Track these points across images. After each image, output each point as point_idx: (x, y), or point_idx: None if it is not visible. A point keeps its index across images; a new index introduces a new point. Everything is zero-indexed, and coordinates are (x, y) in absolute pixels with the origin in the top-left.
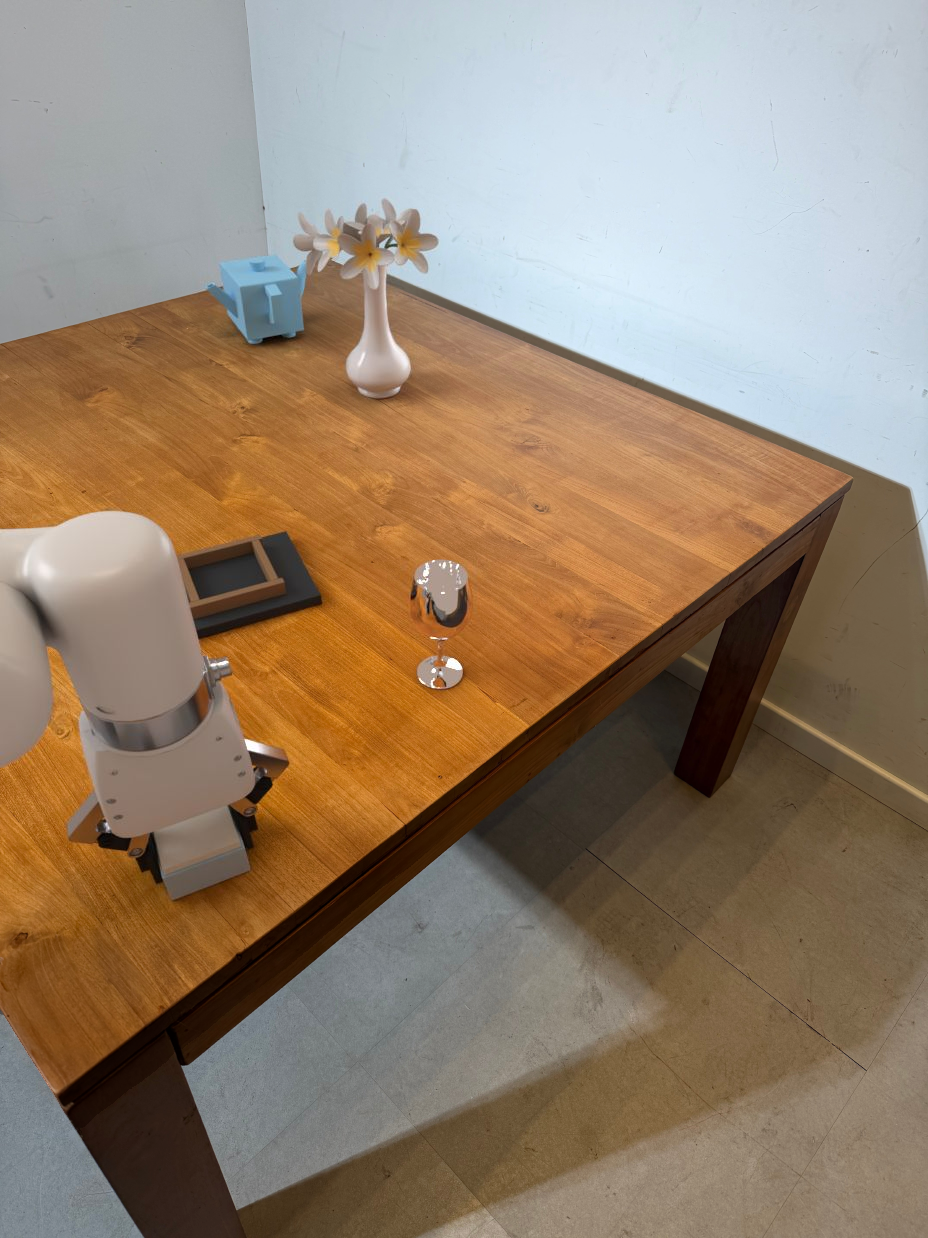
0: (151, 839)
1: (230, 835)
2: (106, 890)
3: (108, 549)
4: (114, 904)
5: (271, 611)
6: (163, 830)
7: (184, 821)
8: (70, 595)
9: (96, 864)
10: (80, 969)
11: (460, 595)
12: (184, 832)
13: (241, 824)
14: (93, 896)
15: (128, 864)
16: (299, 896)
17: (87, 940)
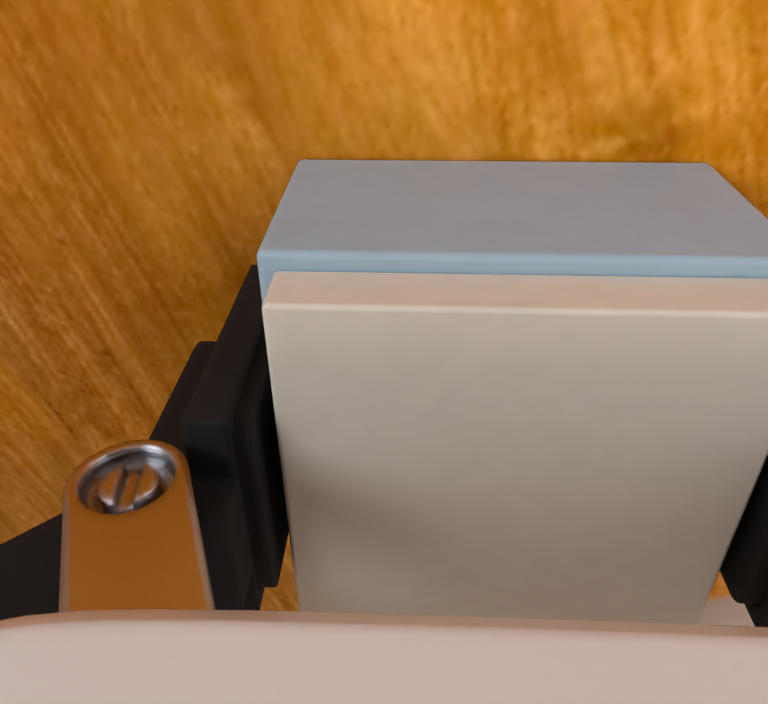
0: (266, 516)
1: (665, 620)
2: (73, 323)
3: None
4: (111, 388)
5: None
6: (341, 474)
7: (474, 472)
8: None
9: (8, 181)
10: (23, 529)
11: None
12: (452, 528)
13: (752, 614)
14: (22, 327)
15: (161, 244)
16: (718, 586)
17: (29, 464)
